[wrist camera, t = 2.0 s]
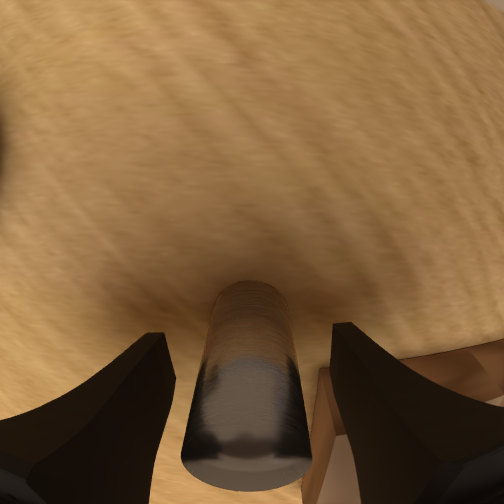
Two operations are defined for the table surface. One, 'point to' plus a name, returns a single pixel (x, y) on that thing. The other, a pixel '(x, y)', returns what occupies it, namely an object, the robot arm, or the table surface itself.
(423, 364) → the hole block
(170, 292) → the table surface
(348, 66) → the table surface
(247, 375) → the tall pin
